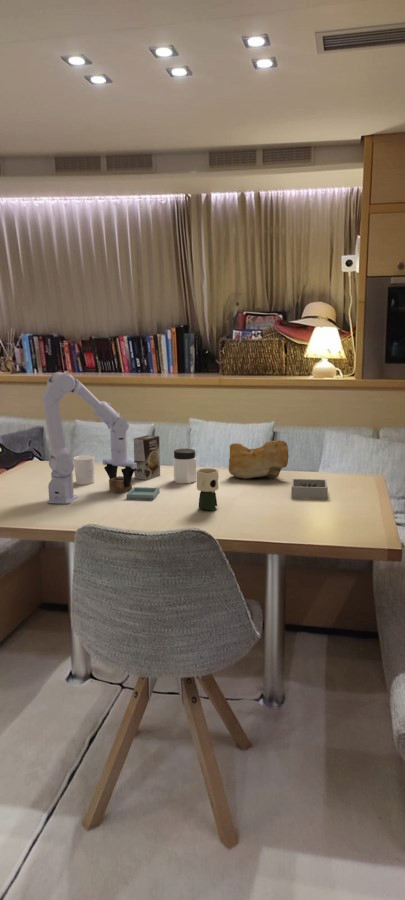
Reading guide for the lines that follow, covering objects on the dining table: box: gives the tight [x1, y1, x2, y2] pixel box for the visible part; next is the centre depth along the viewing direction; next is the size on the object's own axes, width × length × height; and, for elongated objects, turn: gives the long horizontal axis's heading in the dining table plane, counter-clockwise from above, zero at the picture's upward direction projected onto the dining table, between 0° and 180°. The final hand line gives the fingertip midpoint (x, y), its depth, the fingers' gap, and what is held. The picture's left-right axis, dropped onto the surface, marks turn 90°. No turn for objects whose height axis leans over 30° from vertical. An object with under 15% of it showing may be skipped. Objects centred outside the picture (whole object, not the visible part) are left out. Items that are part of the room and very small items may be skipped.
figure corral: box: [290, 478, 329, 500], centre depth 219 cm, size 11×12×4 cm
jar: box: [173, 448, 197, 484], centre depth 239 cm, size 9×8×12 cm
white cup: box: [73, 454, 95, 486], centre depth 239 cm, size 8×8×10 cm
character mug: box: [196, 467, 219, 511], centre depth 203 cm, size 11×7×13 cm, turn 153°
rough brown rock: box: [228, 440, 290, 479], centre depth 245 cm, size 23×17×15 cm
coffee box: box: [133, 434, 161, 481], centre depth 246 cm, size 9×6×16 cm
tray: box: [126, 486, 161, 501], centre depth 220 cm, size 10×10×2 cm
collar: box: [108, 475, 133, 494], centre depth 227 cm, size 6×6×4 cm
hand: (120, 485), depth 227 cm, fingers closed on collar, 6 cm apart
